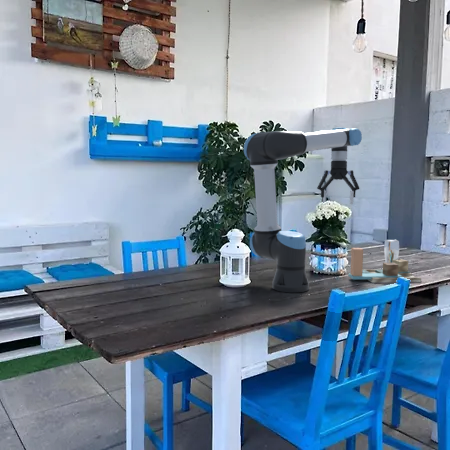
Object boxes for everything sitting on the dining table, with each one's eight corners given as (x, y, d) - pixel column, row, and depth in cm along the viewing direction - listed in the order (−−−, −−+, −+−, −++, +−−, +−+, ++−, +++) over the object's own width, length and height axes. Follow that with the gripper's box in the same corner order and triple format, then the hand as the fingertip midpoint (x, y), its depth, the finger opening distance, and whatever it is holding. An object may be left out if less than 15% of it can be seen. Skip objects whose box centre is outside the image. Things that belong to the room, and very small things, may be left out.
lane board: (372, 282, 206) (372, 277, 205) (357, 273, 225) (357, 269, 224) (421, 282, 207) (421, 277, 207) (402, 273, 226) (402, 268, 226)
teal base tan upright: (353, 279, 207) (354, 249, 205) (348, 276, 213) (349, 247, 212) (402, 278, 208) (403, 249, 207) (395, 275, 215) (396, 247, 213)
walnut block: (386, 275, 208) (387, 264, 208) (382, 273, 213) (383, 262, 213) (397, 275, 209) (398, 264, 208) (393, 273, 214) (393, 262, 213)
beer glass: (399, 272, 228) (400, 241, 226) (384, 271, 229) (385, 241, 228) (397, 269, 235) (398, 239, 233) (382, 268, 236) (383, 239, 235)
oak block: (399, 272, 217) (399, 261, 217) (392, 270, 222) (392, 259, 222) (408, 271, 219) (408, 261, 218) (400, 269, 224) (401, 259, 223)
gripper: (361, 160, 231) (360, 203, 233) (311, 160, 230) (310, 203, 232) (367, 160, 224) (365, 204, 226) (315, 159, 222) (314, 204, 225)
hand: (337, 204), depth 229 cm, fingers open, 13 cm apart
